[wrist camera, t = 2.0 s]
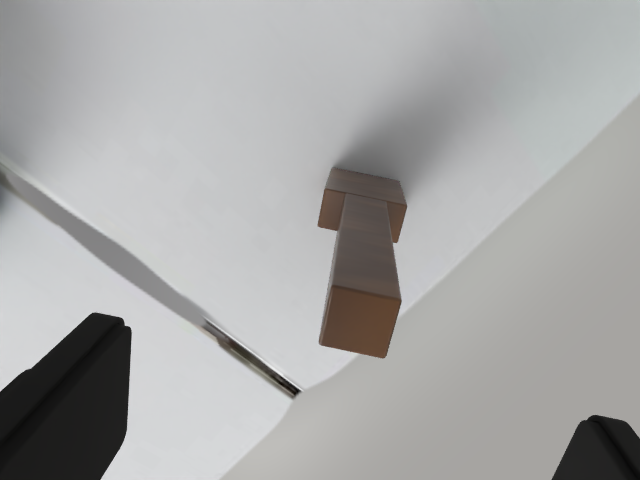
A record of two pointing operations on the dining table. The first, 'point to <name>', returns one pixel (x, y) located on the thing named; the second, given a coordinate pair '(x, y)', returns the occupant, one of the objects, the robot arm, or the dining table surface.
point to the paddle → (362, 261)
